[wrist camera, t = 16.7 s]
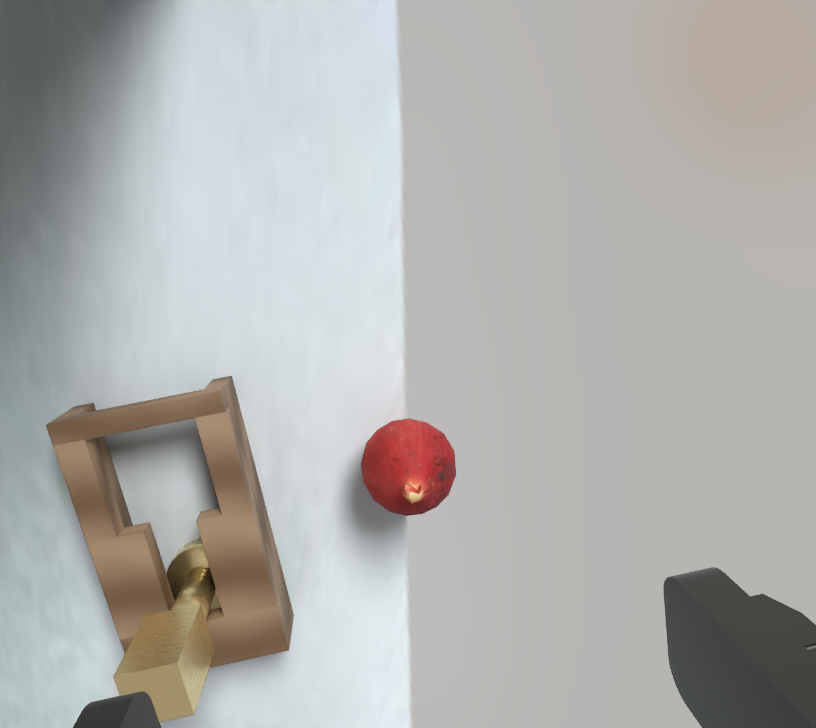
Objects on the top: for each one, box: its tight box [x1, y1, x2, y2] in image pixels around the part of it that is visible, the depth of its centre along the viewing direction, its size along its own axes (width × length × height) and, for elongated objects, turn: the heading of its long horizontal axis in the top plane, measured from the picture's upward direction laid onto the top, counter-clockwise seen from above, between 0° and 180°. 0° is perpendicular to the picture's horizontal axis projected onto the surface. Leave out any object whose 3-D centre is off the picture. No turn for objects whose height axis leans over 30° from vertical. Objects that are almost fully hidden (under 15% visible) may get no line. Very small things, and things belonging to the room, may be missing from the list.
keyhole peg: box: [113, 540, 221, 722], centre depth 35 cm, size 5×5×11 cm
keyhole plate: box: [46, 376, 294, 668], centre depth 38 cm, size 18×10×4 cm, turn 10°
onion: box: [361, 419, 456, 516], centre depth 36 cm, size 6×6×8 cm
